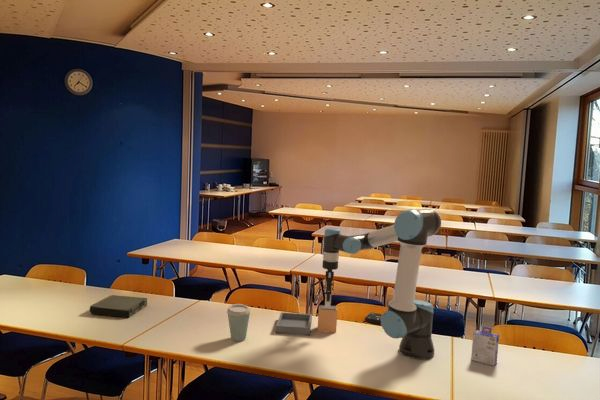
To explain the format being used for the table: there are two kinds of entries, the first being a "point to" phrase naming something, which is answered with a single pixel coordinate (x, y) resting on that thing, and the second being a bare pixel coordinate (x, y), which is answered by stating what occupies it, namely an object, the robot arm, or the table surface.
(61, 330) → the table surface
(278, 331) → the tray
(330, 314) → the toner caddy
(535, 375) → the table surface
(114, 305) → the network switch
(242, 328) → the disposable coffee cup
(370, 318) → the disk drive
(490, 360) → the ink cartridge box
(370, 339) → the table surface
